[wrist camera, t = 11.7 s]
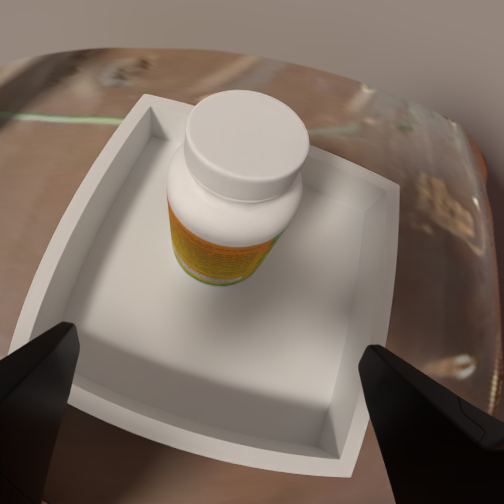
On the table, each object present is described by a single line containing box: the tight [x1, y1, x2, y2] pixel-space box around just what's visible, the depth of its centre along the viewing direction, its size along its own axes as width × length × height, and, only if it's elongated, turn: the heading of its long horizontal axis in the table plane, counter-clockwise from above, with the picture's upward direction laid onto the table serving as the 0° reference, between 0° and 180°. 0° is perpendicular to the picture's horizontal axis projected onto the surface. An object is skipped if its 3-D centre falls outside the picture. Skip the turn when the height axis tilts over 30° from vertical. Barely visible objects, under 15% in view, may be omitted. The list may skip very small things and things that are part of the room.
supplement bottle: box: [166, 90, 310, 287], centre depth 13 cm, size 5×5×10 cm
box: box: [8, 94, 400, 477], centre depth 16 cm, size 18×18×4 cm
